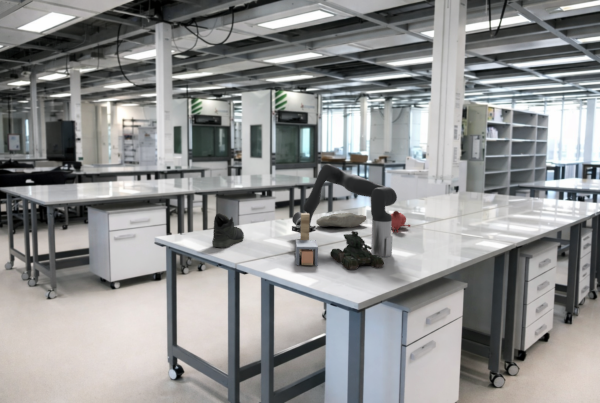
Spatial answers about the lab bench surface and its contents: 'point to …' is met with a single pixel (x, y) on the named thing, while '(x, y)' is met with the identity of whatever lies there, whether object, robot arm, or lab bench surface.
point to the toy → (398, 220)
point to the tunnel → (307, 245)
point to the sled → (305, 230)
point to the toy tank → (356, 253)
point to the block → (307, 255)
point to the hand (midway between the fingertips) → (304, 231)
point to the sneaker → (225, 232)
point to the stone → (341, 220)
